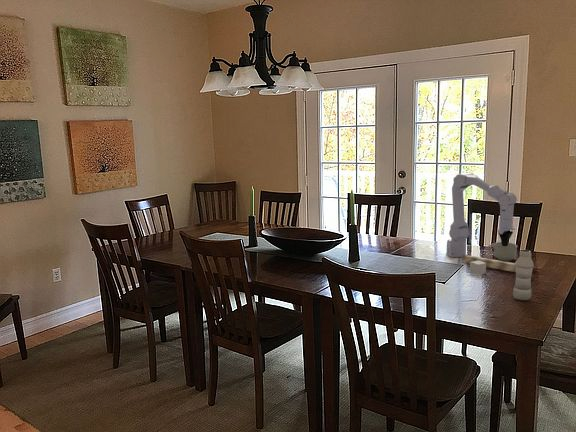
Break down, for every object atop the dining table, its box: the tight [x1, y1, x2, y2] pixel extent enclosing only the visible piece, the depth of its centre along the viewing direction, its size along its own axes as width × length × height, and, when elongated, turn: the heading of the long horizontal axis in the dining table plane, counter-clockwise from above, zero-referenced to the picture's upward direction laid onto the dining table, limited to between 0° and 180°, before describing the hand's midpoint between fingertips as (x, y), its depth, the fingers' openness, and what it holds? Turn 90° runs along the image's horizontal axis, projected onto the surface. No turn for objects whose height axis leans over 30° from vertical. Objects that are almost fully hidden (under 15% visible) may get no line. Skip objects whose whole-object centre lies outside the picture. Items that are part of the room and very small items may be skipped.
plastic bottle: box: [512, 249, 535, 301], centre depth 188 cm, size 6×7×20 cm
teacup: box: [487, 241, 518, 262], centre depth 246 cm, size 14×11×8 cm
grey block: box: [469, 261, 487, 276], centre depth 225 cm, size 5×5×5 cm
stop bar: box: [461, 254, 516, 273], centre depth 234 cm, size 26×2×4 cm, turn 46°
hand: (504, 245), depth 232 cm, fingers closed
